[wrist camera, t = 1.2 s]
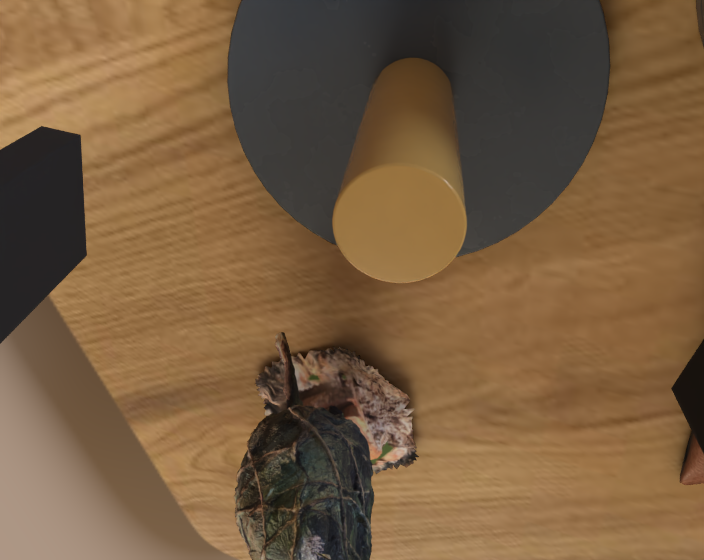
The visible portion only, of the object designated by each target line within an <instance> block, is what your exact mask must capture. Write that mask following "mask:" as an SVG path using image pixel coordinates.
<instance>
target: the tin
mask: <svg viewBox="0 0 704 560" xmlns="http://www.w3.org/2000/svg"><path fill="white" fill-rule="evenodd" d="M696 9H697V17H698V25H699V32H700V36H701V39H702V43H703V47H704V0H696Z"/></svg>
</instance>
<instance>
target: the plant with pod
mask: <svg viewBox="0 0 704 560" xmlns="http://www.w3.org/2000/svg"><path fill="white" fill-rule="evenodd" d="M275 338H276V343H275V345H276V347H277V349H278V351H279V354H280V355H279V356H280V358H281V360H280V361H279V362H274V361H272V368H271V367H268V366H265V370H264V372H263V373H261V374H259V375H258V377H259V378H258V379H256V383H255V384H256V386H258V387H260V388H258V389H257V390H258V391H260V394H259V395H258V396H263V397H262V398H265V400H264V402H263V403H264V404H267V405H266V406H265V407H264V408H265V410H266V412H265V415H267V416H266V418H264V419H263V420H262V421H261V422H260V423H259V424H258V426H257V427H256V429H254V431H253V432H252V433H251V437H250V439H249V440H248V441H247V442H248V443H247V446H248V450H247V452H246V454H245V456H244V458H243V461H242V463H241V468H240V469H239V471H238V473H237V482H238V486H237V487H236V488H235V491H236V493H235V495H234V499H235V502H236V508H235V517H236V524H237V526H238V529H239V531H240V533H241V536H242V537H243V539H244V541H245V542H246V543H247V547H248V550H249V554H250V556H251V558H252V560H370V555H371V547H372V544H371V538H372V535H371V526H370V524H371V512H372V506H373V502H374V492H373V489H372V485H371V477H372V475H373V471H375V473H376V474H377V473H379V472H380V471H382V470H387V468H390V469H392V468H393V465H394V467H395V468H396V469H397V468H398V467H399V465H400V464H401V465H403V466H405V467H408V466H409V465H410V464H413V460H416V458H415V457H419V456H418V455H416V454H415V452H416V450H415V449H414V448H417V447H415V446H414V445H415V443H414V441H413V440H412V439H413V434H412V432H413V430H412V422H411V420H412V418H413V417H407V416H408V415H409V414H410V413H411V412H412V411H413V410H414V409H404V408H405V407H406V405H407V404H408V403H409V402H410V399H409V397H408V395H407V394H403V392H401V391H402V390H398V389H399V388H396V387H394V386H393V385H392V384H388V383H389V381H385V380H384V377H383V376H381V375H380V374H379V373H378V369H374V368H373V366H372V367H370V368H369V366H370V365H369V366H366V367H365V362H364V360H360V355H359V356H357V357H356V355H355V351H354V352H352V353H351V352H350V351H349V350H348V349H345V350H343V349H342V348H341V347H340V346H339V349H337V348H335V347H333V349H334V351H333V350H332V349H330V348H328V349H327V350H326V351H323V350H320V351H312V350H309V353H308V355H307V357H306V359H304V358H303V357H302V356H301V354H300V353H298V355H297V357H292V356H291V354H290V350H289V346H288V343H287V340H286V336H285V333H283V332H281V333H278V334H277V335H276V337H275ZM262 398H261V399H262Z"/></svg>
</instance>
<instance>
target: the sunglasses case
mask: <svg viewBox="0 0 704 560" xmlns="http://www.w3.org/2000/svg"><path fill="white" fill-rule="evenodd" d="M680 483H682V484H684V485H693V484H701V483H704V454H703V452H702V450H701V448H700V446H699V444H698V442H697V440H696V438H695V436H694V434H693V432H691V435H690V438H689V441H688V445H687V449H686V453H685V457H684V461H683V465H682V470H681V474H680Z"/></svg>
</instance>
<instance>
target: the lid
mask: <svg viewBox="0 0 704 560" xmlns="http://www.w3.org/2000/svg"><path fill="white" fill-rule="evenodd" d="M609 75H610V52H609V38H608V32H607V27H606V22H605V16H604V12H603V9H602V6H601V3H600V0H241V3H240V5H239V7H238V11H237V15H236V18H235V22H234V25H233V29H232V33H231V40H230V46H229V53H228V91H229V100H230V108H231V112H232V116H233V120H234V125H235V129H236V132H237V134H238V137H239V140H240V143H241V145H242V148H243V151H244V153H245V155H246V157H247V159H248V160H249V162H250V164H251V166H252V168H253V170H254V172H255V173H256V175H257V176H258V178H259V179H260V181H261V182H262V184H263V185H264V187H265V188H266V190H267V191H268V192H269V193H270V194H271V195H272V197H273V198H274V199H275V200H276V201H277V202H278V204H279V205H280V206H281V207H282V208H283V209H284V210H285V211H287V212H288V213H289V214H290V215H291V216H292V217H293V218H294V219H295V220H296V221H298V222H299V223H301V224H302V225H303V226H305V227H306V228H307V229H309V230H310V231H312V232H313V233H315V234H316V235H318V236H320V237H322V238H324V239H325V240H327V241H329V242H331V243H332V244H335V245H337V246H338V247H339V249H340V251H341V252H342V254H343V255H344V257H345V258H346V259H347V260H348V261H349V262H350V263H351V264H352V265H353V266H354V267H355V268H356V269H358V270H359V271H361V272H362V273H364V274H366V275H368V276H370V277H372V278H374V279H377V280H381V281H384V282H390V283H411V282H417V281H420V280H424V279H426V278H429V277H431V276H433V275H435V274H437V273H438V272H440V271H441V270H443V269H444V268H445V267H446V266H448V265H449V264H450V263H451V262H452V261H453V259H454V258H455V257H458V256H462V255H465V254H469V253H472V252H476V251H479V250H481V249H483V248H486V247H488V246H491V245H493V244H495V243H498V242H499V241H501V240H503V239H505V238H507V237H508V236H510V235H512V234H514V233H516V232H517V231H519V230H520V229H521V228H523V227H524V226H526V225H527V224H528V223H530V222H531V221H533V220H534V219H535V218H537V217H538V216H539V215H540V214H541V213H542V212H543V211H544V210H545V209H546V208H548V207H549V206H550V205H551V204H552V203H553V202H554V201H555V200H556V198H557V197H558V196H559V195H560V194H561V193H562V192H563V190H564V189H565V188H566V187H567V186H568V185H569V183H570V182H571V180H572V179H573V177H574V176H575V174H576V173H577V171H578V170H579V168H580V167H581V165H582V164H583V162H584V160H585V158H586V156H587V154H588V152H589V150H590V148H591V146H592V144H593V142H594V140H595V137H596V134H597V131H598V129H599V126H600V123H601V120H602V117H603V113H604V108H605V104H606V99H607V95H608V86H609Z"/></svg>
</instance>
